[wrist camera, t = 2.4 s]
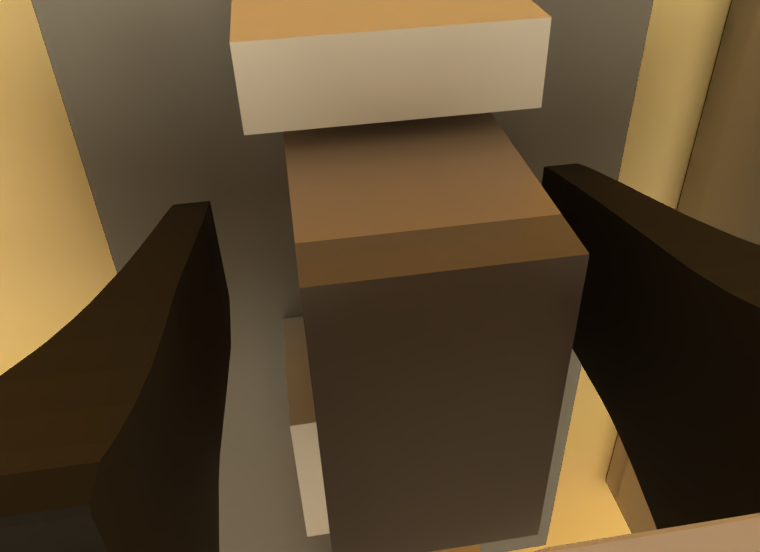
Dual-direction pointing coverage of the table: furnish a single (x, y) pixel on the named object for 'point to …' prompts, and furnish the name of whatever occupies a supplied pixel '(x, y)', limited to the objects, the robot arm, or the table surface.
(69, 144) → the table surface
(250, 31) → the block
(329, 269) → the block
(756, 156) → the parts tray
